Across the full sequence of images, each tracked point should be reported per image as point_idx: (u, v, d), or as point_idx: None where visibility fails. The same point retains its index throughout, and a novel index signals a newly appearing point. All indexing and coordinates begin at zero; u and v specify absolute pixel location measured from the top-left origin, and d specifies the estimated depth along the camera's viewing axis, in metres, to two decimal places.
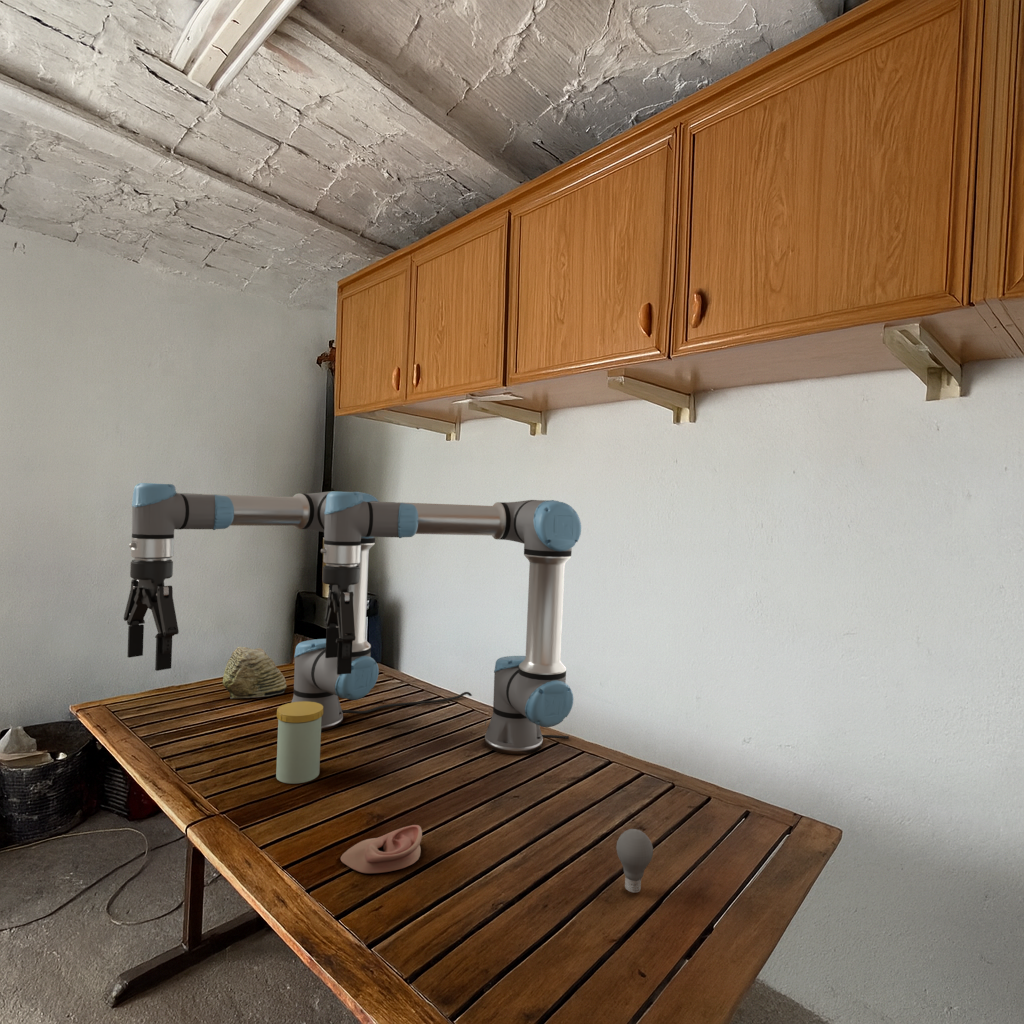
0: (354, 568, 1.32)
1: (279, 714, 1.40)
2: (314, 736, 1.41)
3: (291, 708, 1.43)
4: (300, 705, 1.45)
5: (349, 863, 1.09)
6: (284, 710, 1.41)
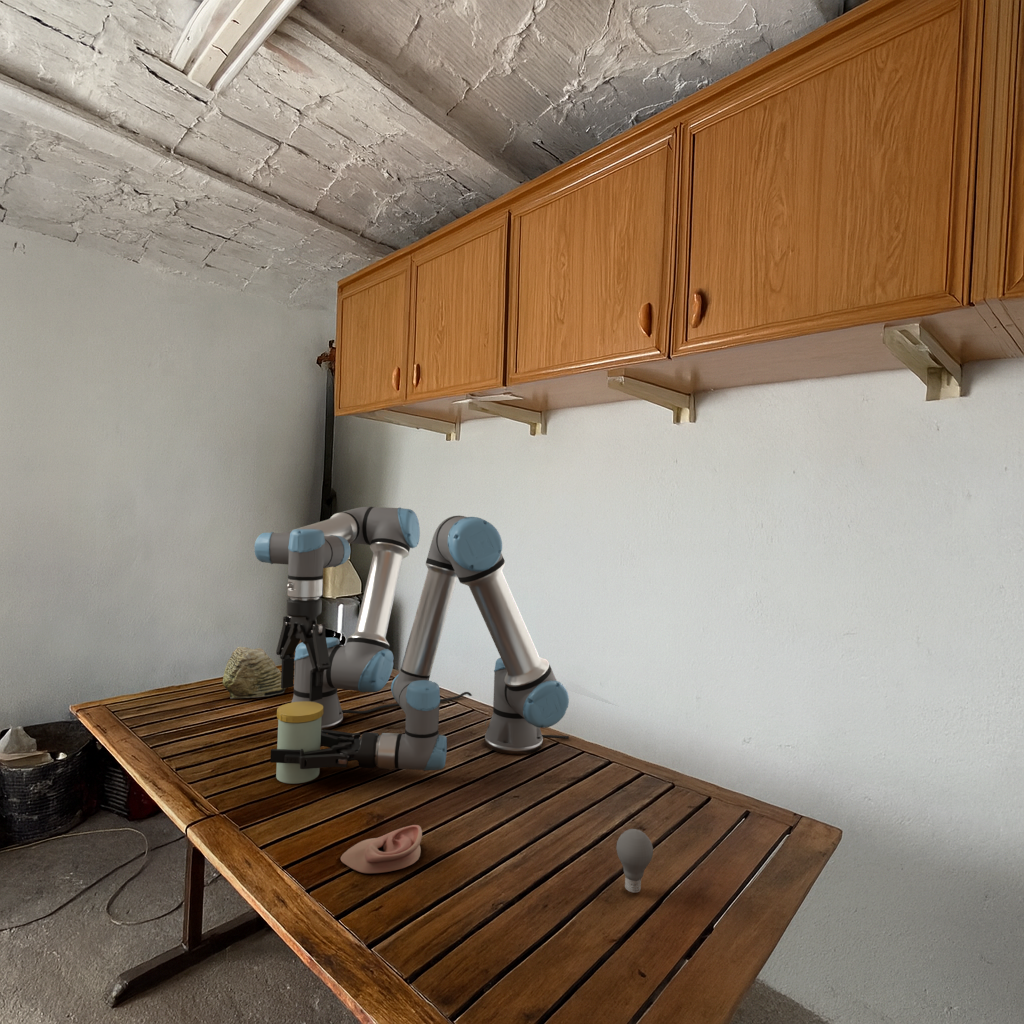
0: None
1: (279, 714, 1.40)
2: (314, 736, 1.41)
3: (291, 708, 1.43)
4: (300, 705, 1.45)
5: (349, 863, 1.09)
6: (284, 710, 1.41)
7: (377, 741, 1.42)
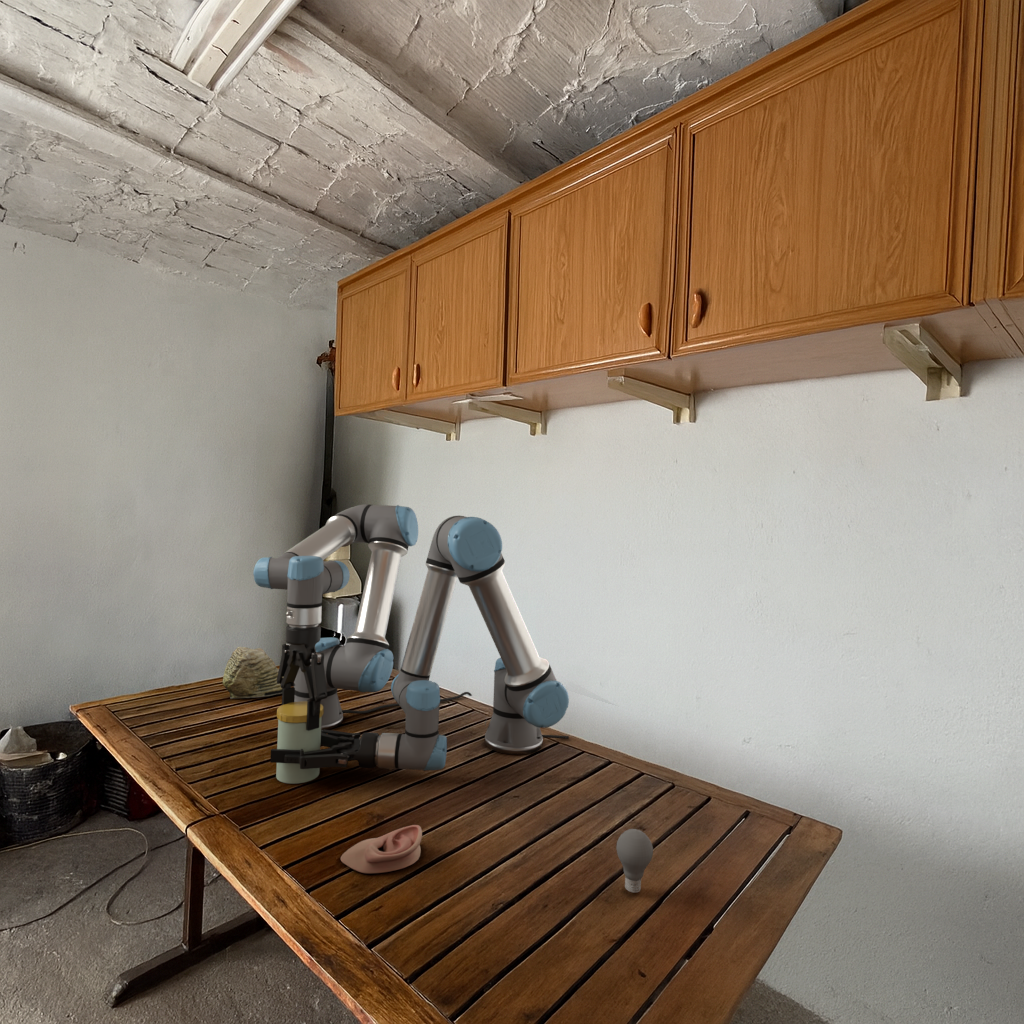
0: None
1: (279, 714, 1.40)
2: (314, 736, 1.41)
3: (291, 708, 1.43)
4: (300, 705, 1.45)
5: (349, 863, 1.09)
6: (284, 710, 1.41)
7: (377, 741, 1.42)
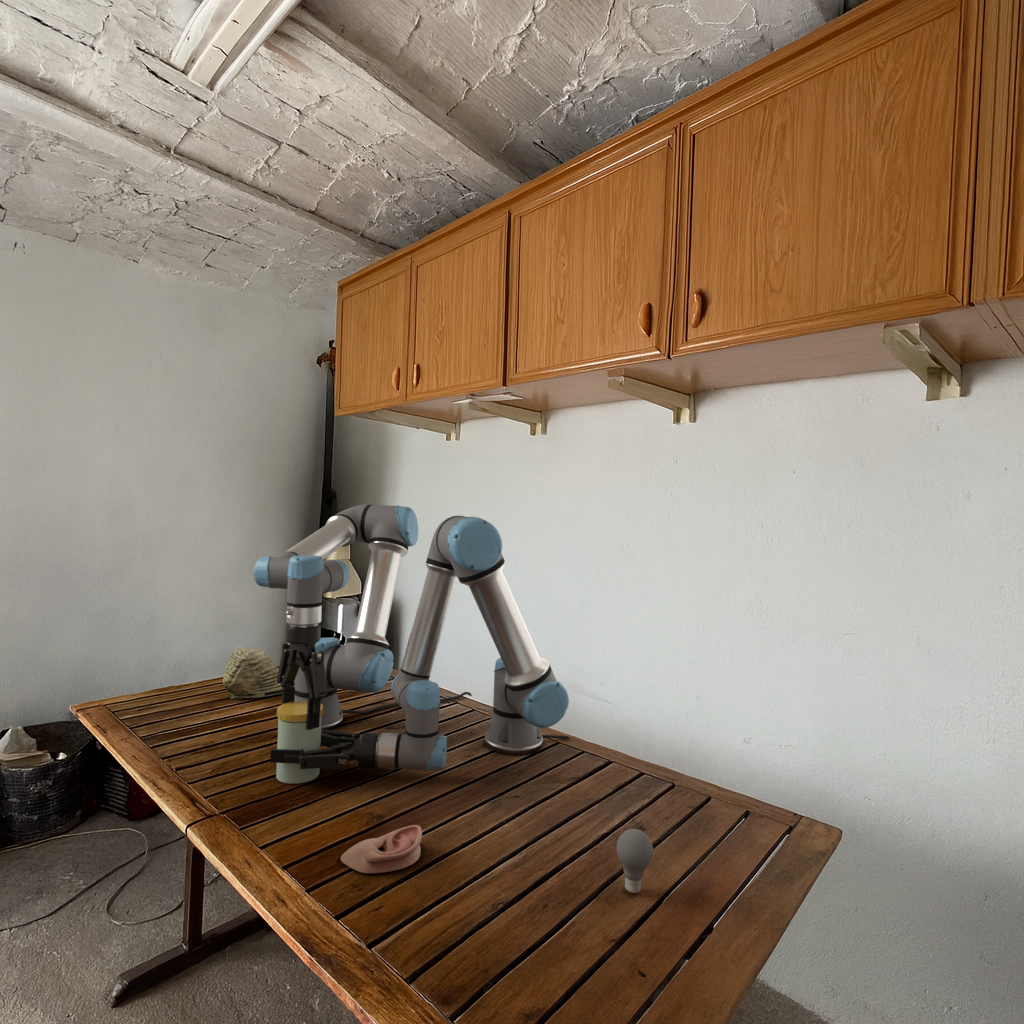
0: None
1: (301, 716, 1.39)
2: (314, 736, 1.41)
3: (295, 710, 1.42)
4: (292, 706, 1.44)
5: (349, 863, 1.09)
6: (299, 712, 1.40)
7: (377, 741, 1.42)
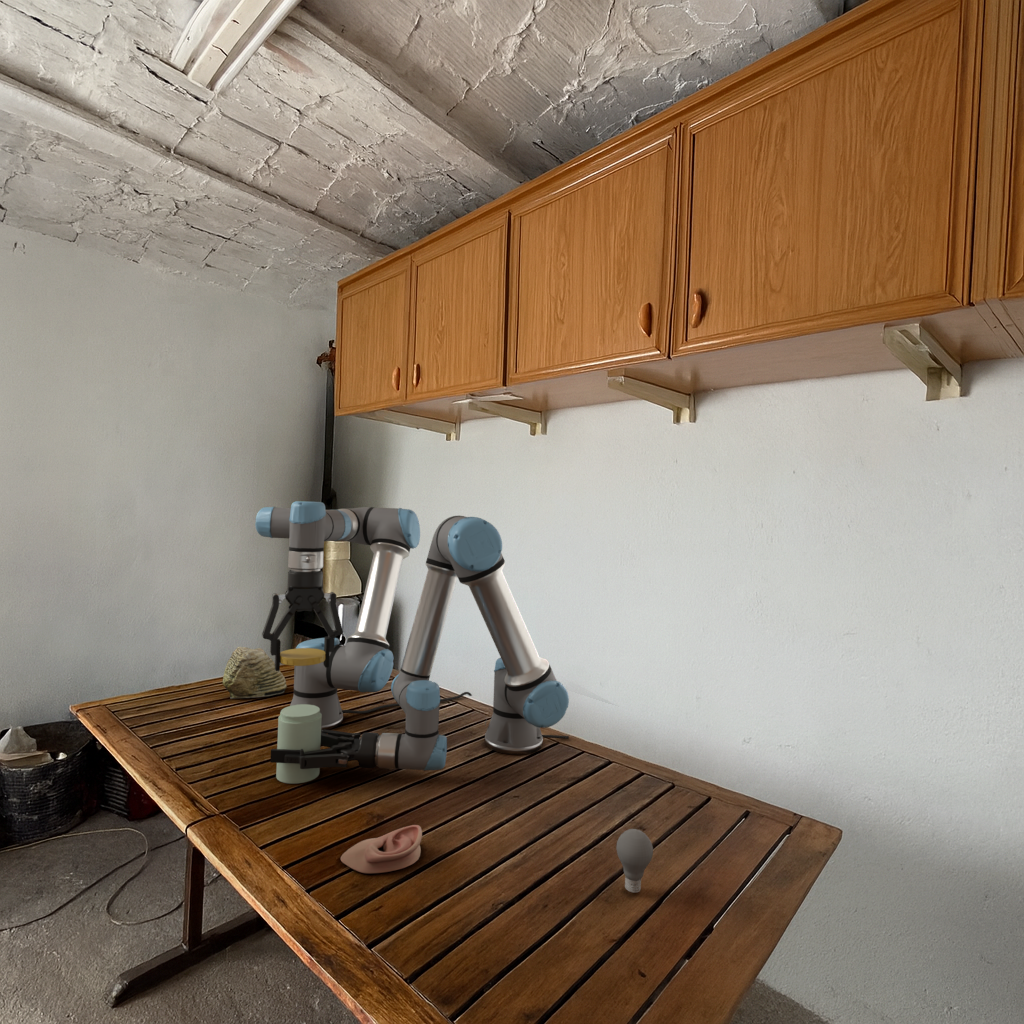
0: None
1: (324, 656, 1.43)
2: (314, 736, 1.41)
3: (307, 654, 1.42)
4: (295, 655, 1.42)
5: (349, 863, 1.09)
6: (316, 654, 1.43)
7: (377, 741, 1.42)
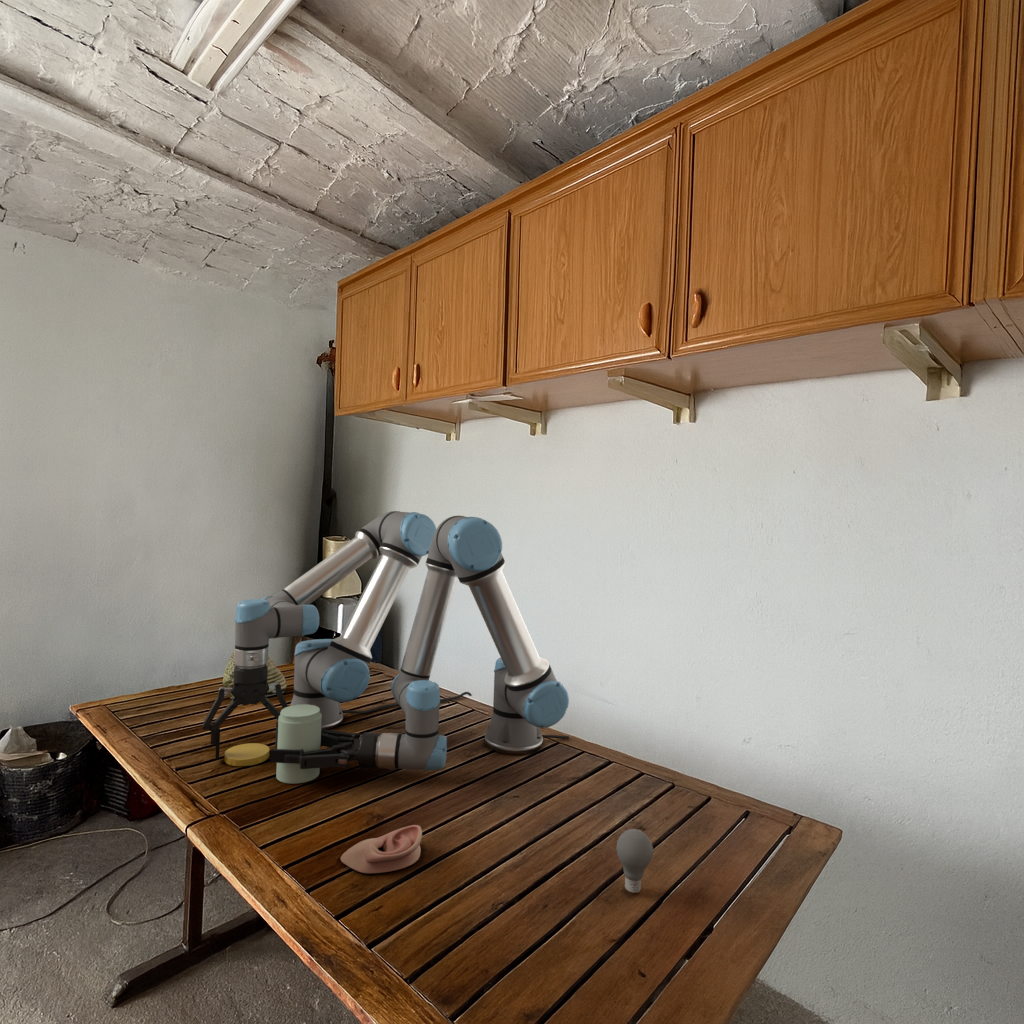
0: None
1: (267, 754, 1.51)
2: (314, 736, 1.41)
3: (251, 753, 1.50)
4: (240, 753, 1.50)
5: (349, 863, 1.09)
6: (260, 752, 1.51)
7: (377, 741, 1.42)
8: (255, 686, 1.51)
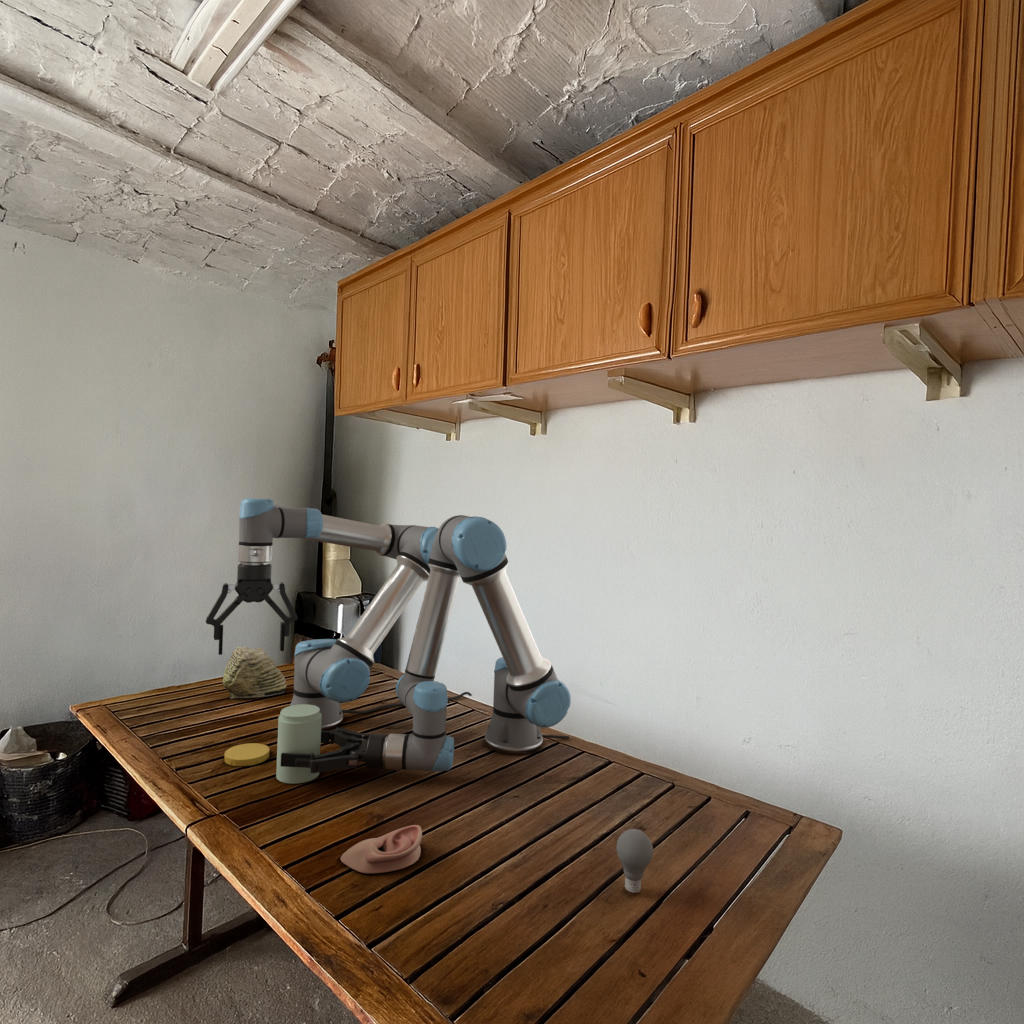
0: None
1: (267, 754, 1.51)
2: (314, 736, 1.41)
3: (251, 753, 1.50)
4: (240, 753, 1.50)
5: (349, 863, 1.09)
6: (260, 752, 1.51)
7: (384, 742, 1.42)
8: (259, 584, 1.50)
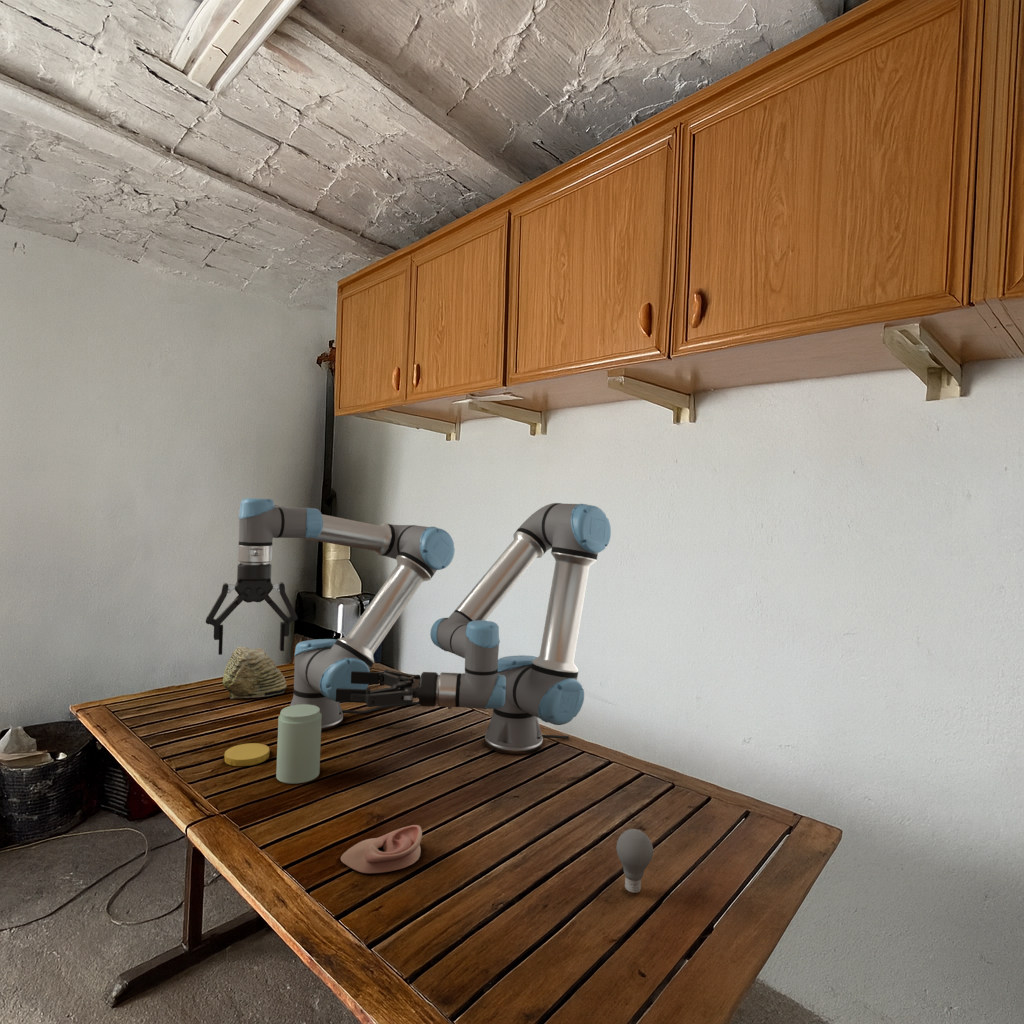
0: None
1: (267, 754, 1.51)
2: (314, 736, 1.41)
3: (251, 753, 1.50)
4: (240, 753, 1.50)
5: (349, 863, 1.09)
6: (260, 752, 1.51)
7: (437, 679, 1.42)
8: (259, 584, 1.50)
